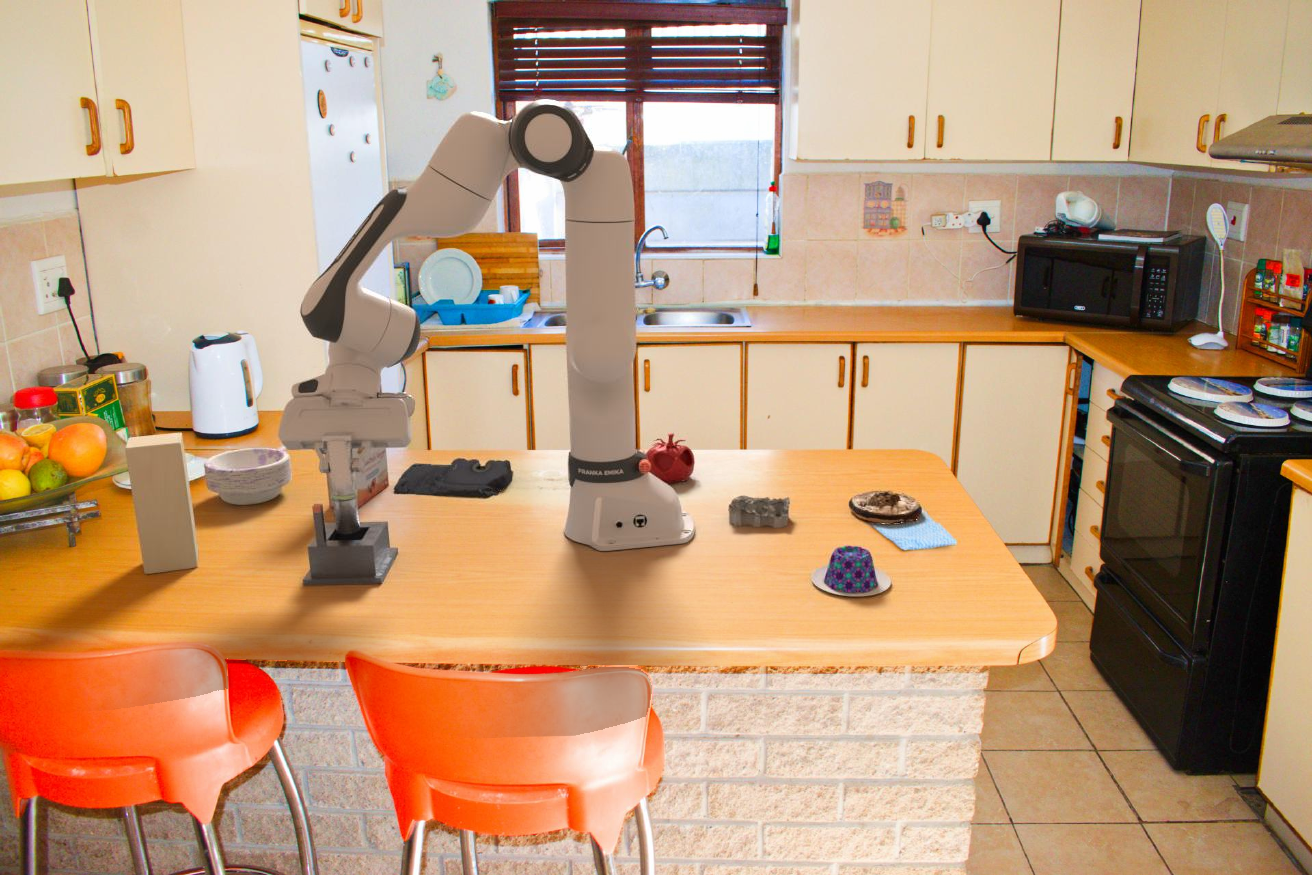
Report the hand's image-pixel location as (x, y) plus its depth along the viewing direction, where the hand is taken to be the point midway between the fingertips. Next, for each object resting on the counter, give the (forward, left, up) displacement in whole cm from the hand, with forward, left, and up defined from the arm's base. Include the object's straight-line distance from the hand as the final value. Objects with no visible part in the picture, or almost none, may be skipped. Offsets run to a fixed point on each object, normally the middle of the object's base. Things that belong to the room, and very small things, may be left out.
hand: (341, 471), depth 161 cm
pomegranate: (-52, -42, -17) cm, 69 cm away
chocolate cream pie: (-90, -20, -17) cm, 94 cm away
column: (0, 0, -10) cm, 10 cm away
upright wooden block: (+30, -4, -17) cm, 35 cm away
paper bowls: (+28, -35, -17) cm, 48 cm away
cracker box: (+7, -35, -17) cm, 39 cm away
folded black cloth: (-10, -41, -17) cm, 46 cm away
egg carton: (-67, -18, -17) cm, 71 cm away
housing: (0, -1, -17) cm, 17 cm away
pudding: (-78, +8, -17) cm, 80 cm away
